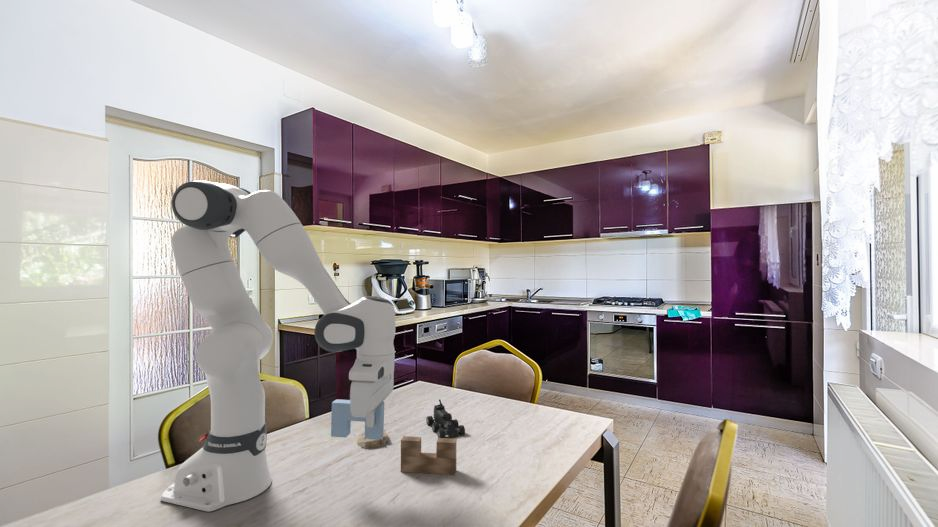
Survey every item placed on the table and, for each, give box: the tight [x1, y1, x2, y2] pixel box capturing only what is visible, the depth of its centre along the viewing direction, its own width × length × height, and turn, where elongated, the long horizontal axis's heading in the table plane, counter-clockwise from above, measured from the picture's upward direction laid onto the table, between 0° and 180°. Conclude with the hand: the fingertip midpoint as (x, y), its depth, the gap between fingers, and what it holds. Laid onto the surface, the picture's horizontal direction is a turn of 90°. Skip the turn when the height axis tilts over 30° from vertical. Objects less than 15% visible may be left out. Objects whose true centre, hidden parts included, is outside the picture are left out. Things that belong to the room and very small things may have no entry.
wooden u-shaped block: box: [400, 435, 457, 476], centre depth 103 cm, size 14×2×8 cm, turn 84°
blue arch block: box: [330, 399, 385, 440], centre depth 96 cm, size 12×2×8 cm, turn 84°
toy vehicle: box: [425, 399, 466, 439], centre depth 130 cm, size 8×15×9 cm, turn 23°
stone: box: [356, 429, 389, 449], centre depth 120 cm, size 9×6×3 cm
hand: (373, 422), depth 95 cm, fingers closed on blue arch block, 2 cm apart
